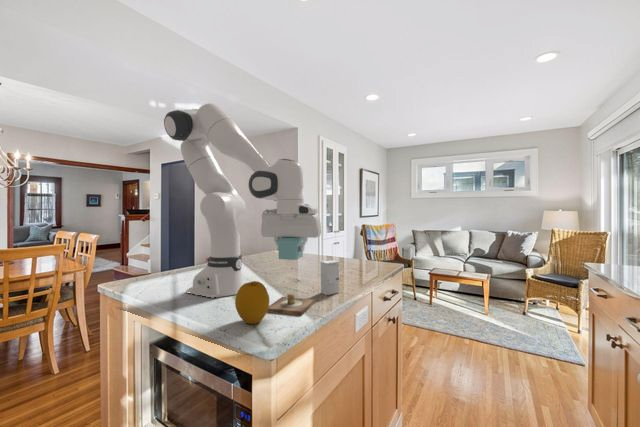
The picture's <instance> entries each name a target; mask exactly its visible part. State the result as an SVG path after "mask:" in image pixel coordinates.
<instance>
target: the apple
mask: <svg viewBox="0 0 640 427" xmlns="http://www.w3.org/2000/svg"><path fill="white" fill-rule="evenodd" d="M235 295H236V296H235V300H234V301H235V302H234V304H235V309H236V313H237V315H238V316H239V317H240V319H241V320H242V321H244V322H245V323H246V324H249V325H255V324H258V323H260V322H261V321H263V319H264V318H265V316H266V314H267V313H268V312H267V310H268V308H269V306H270V295H269V293H268V290H267V287H266V286H265V285H264V284H263V283H262V282H260V281H256V280H255V281H249V282H246V283H243V285H242V286H241V287H240V289H239V290H238V292H237V294H235Z"/></svg>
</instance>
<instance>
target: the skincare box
mask: <svg viewBox="0 0 640 427" xmlns="http://www.w3.org/2000/svg"><path fill="white" fill-rule="evenodd" d="M339 265H340V263H339V261H338V260H333V259H331V260H324V261H323V260H322V261H320V293H321V294H322V295H324V296H329V295H335V294H339V293H340V266H339Z"/></svg>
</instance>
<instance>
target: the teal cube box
mask: <svg viewBox="0 0 640 427" xmlns="http://www.w3.org/2000/svg"><path fill="white" fill-rule="evenodd" d="M302 242H303V241H301V237H281V238H278V247H279V251H278V260H293V261H297V260H299V259H301V258H303V256H304V251H298V249H299V248H298V246H300V245H301V244H302Z"/></svg>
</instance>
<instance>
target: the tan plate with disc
mask: <svg viewBox="0 0 640 427" xmlns="http://www.w3.org/2000/svg"><path fill="white" fill-rule="evenodd" d="M314 304H315V299H309V298H301V297H296V294H295V293H287V296H281V297H280V298H278V299H277V300H275V301H274V302H272V303H271V304H269V308H268V310H267V313H272V314H283V315H291V316H292V315H294V316H304V314H305V313H306V312H307V311H308V310H309V309H310V308H311V307H312V306H313V305H314Z"/></svg>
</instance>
